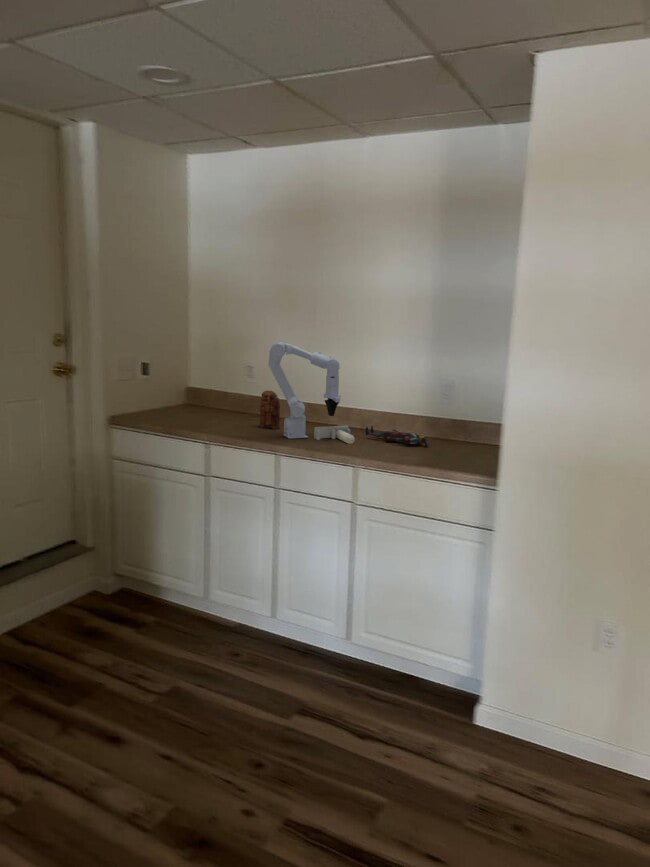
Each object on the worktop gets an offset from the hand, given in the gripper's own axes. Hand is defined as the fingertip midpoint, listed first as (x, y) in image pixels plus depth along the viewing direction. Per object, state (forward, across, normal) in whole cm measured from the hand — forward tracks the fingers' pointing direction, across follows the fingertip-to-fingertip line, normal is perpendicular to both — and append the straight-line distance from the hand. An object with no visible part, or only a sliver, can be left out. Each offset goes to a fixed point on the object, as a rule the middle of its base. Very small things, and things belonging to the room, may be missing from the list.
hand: (331, 415), depth 297 cm
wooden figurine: (+10, +30, +20) cm, 38 cm away
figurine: (+11, -16, -26) cm, 32 cm away
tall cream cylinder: (+10, -8, -4) cm, 14 cm away
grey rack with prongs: (+10, -2, 0) cm, 10 cm away
